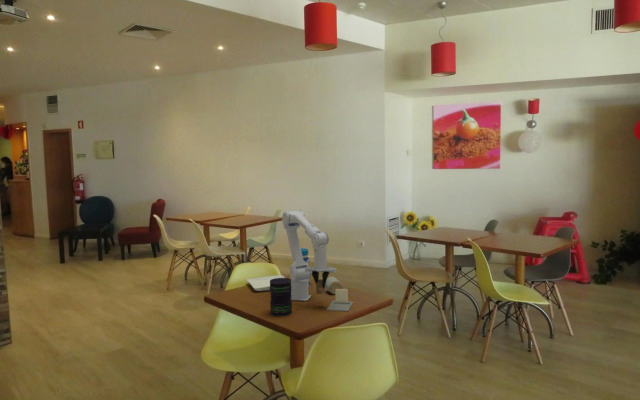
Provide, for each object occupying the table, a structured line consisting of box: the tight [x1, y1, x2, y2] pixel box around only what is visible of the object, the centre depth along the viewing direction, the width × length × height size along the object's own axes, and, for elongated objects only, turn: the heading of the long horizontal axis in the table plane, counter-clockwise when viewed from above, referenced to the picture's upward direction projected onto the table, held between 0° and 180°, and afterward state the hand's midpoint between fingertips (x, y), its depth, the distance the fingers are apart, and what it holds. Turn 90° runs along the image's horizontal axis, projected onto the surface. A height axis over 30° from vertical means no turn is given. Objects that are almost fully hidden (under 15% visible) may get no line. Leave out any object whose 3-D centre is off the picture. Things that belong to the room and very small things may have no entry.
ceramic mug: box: [325, 276, 347, 295], centre depth 244 cm, size 11×8×8 cm
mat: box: [326, 299, 354, 312], centre depth 222 cm, size 10×14×1 cm
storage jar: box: [269, 277, 293, 317], centre depth 213 cm, size 10×10×15 cm
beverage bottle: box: [299, 247, 311, 287], centre depth 259 cm, size 8×8×20 cm
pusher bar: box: [315, 278, 326, 295], centre depth 220 cm, size 2×7×5 cm, turn 166°
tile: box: [335, 288, 349, 302], centre depth 225 cm, size 6×1×6 cm, turn 76°
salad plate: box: [245, 274, 286, 292], centre depth 259 cm, size 21×21×3 cm
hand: (320, 287), depth 220 cm, fingers closed on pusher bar, 2 cm apart
